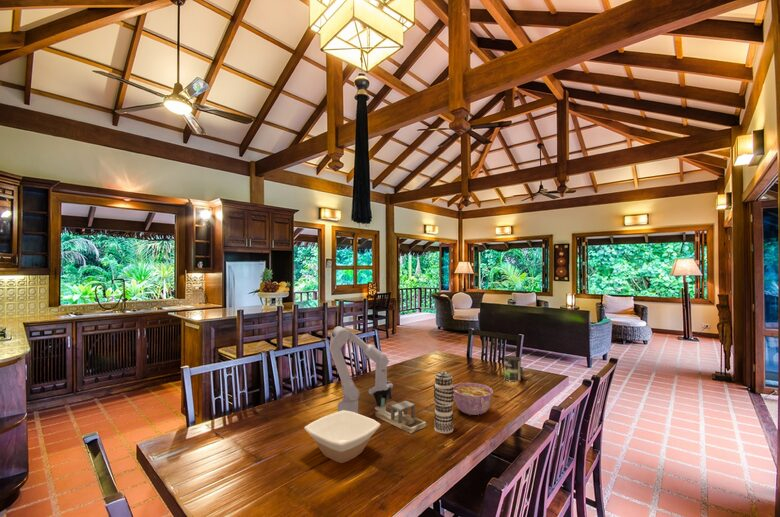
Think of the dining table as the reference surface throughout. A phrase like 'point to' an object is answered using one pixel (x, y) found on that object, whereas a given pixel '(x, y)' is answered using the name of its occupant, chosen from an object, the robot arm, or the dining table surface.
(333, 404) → the dining table surface
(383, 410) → the block
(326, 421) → the bowl
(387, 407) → the walnut block
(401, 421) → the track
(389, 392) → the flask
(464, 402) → the bowl of food
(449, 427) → the white patterned tall cylinder
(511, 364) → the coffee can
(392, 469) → the dining table surface
